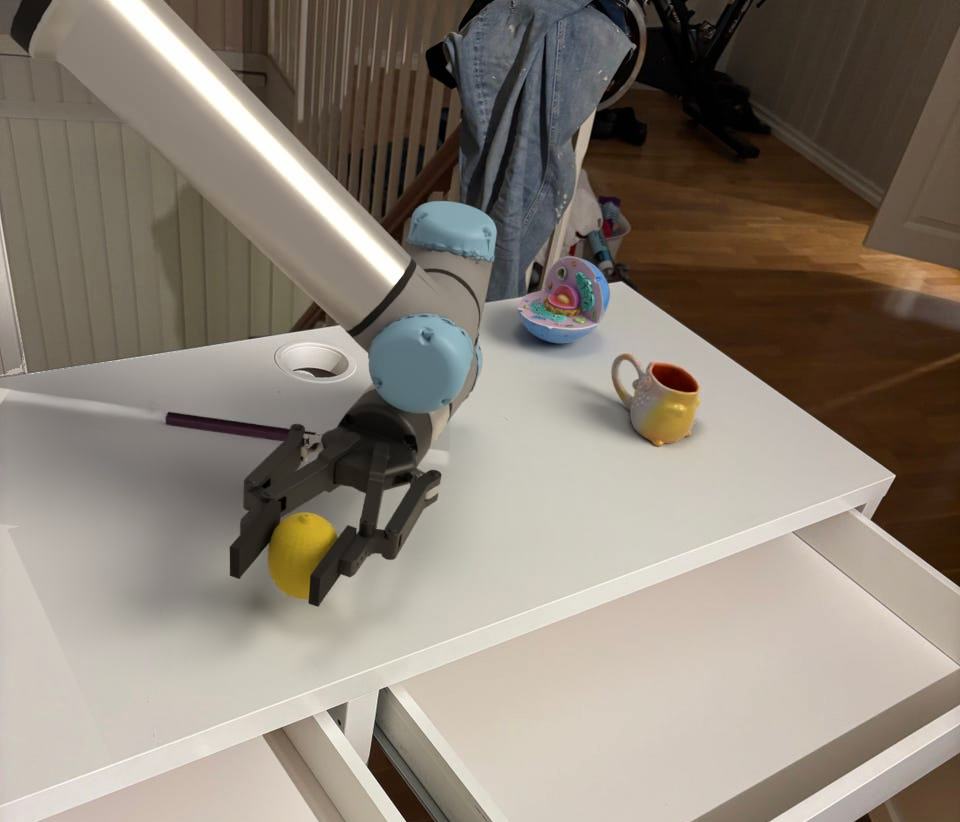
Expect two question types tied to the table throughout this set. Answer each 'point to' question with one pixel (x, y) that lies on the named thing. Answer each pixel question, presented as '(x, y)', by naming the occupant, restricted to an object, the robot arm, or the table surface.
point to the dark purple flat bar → (228, 426)
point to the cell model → (566, 302)
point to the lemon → (298, 551)
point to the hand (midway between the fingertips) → (274, 576)
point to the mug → (659, 399)
